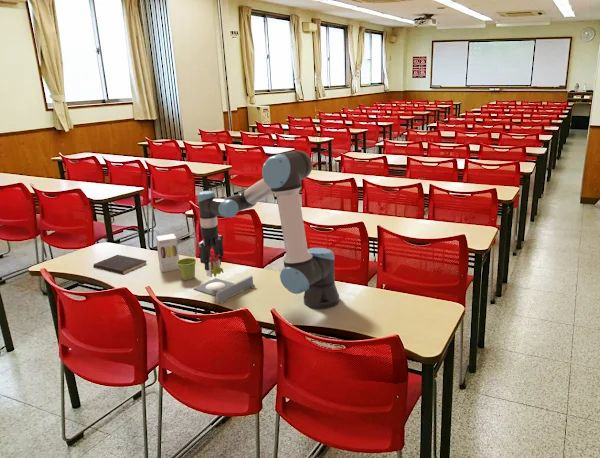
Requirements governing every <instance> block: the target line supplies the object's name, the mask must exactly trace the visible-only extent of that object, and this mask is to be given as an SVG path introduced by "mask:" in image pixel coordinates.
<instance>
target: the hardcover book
mask: <svg viewBox="0 0 600 458" xmlns="http://www.w3.org/2000/svg"><path fill="white" fill-rule="evenodd" d="M145 265H147V260H144V259H139V258H135V257H131V256H126V255H122V254H116V255H114V256H113V255H112V256H111V257H108V258H105V259H103V260H100V261H97V262H95V263H93V268H95V267H97V268H96V269H99V268H101V269H100V270H103V269H104V271H107V270H108V271H109V272H111V271H112V272H113V273H117V274H121V275H124V274H127V273H130V272H131V271H134V270H136V269H138V268H141V267H143V266H145ZM140 266H141V267H140ZM108 271H107V272H108Z"/></svg>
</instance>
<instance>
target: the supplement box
mask: <svg viewBox="0 0 600 458" xmlns="http://www.w3.org/2000/svg"><path fill="white" fill-rule="evenodd" d="M155 239H156V249H157V256H158V264H159V265H158V266H159V268H160V271H161V273H165V272H171V271H176V270H180V269H179V267H178V264H177V261H179V260H180V255H179V247H178V238H177V237H176V235H175V234H174V233H169V234H162V235H156V236H155Z"/></svg>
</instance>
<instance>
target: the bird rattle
mask: <svg viewBox="0 0 600 458" xmlns="http://www.w3.org/2000/svg"><path fill="white" fill-rule="evenodd" d="M219 256H220V254H213V253H212V252H210V260H209V263H211V271H212V275H213V276H214V277H215V278H217V275H220V274H221V273H222V274H224V269H223V267H220V268H217V263H216V261H219V259H218V257H219Z"/></svg>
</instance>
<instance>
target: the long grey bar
mask: <svg viewBox="0 0 600 458" xmlns="http://www.w3.org/2000/svg"><path fill="white" fill-rule="evenodd" d="M254 287H255V284H254V278H253V275H249V276H247V277H245V278H243V279H241V280H239V281H237V282H234V284H233V285H231V286H229V287H227V288H225V289H223V290H221V291H219V292H217V293H216V296H215V297H216V299H215V302H216V303H217V304H219V303H220V304H223V303H226V300H227V299H230V298H232V297H233V296H235V295H238V294H239V293H241V292H243V291H245V290H247V289H248V288H249V289H250V288H254Z"/></svg>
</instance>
